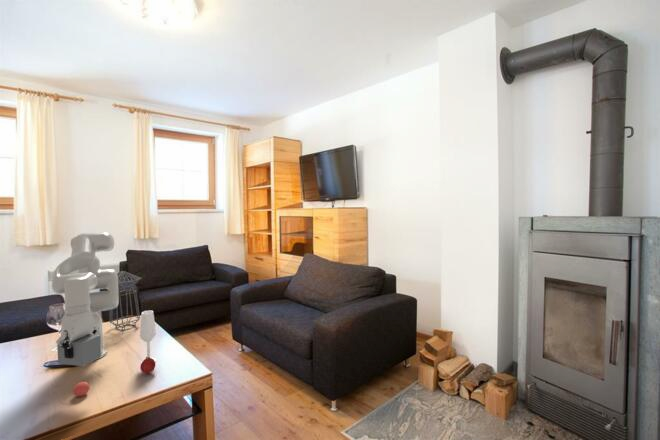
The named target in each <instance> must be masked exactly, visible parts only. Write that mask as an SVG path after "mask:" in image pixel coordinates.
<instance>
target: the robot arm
mask: <svg viewBox="0 0 660 440" xmlns="http://www.w3.org/2000/svg"><path fill="white" fill-rule="evenodd" d="M70 247H71V254H70V256H69V257H67V258H66V259H64V260H63V261H61V263H59V264H58V265H57V266H56V268H55V269H54V273H53V276H52V280H51V281H52V283H51V289H52V291H53V292H54V293H55V294H59V295H61V294H64V308H65V311H64V312H65V313H64V314H63V316H62V319H61V329H60V336H59V337H58V339H56V340H55V343H56V345H57V344H58V345H59V346H60V347H62V348H64V355H65V358H70V359H71V358H73V348H71V347H72V342H74V341H75V340H77V339H79V338H82V337H84V336H86V335H91V334H92V335H100V346H101V357H99V358H97V359H95V360H94V361H96V360H98V359H101V358H103V357H104V356H106V355H107V353H108V350H107V349H106V348H104V338H103V335H104V334H103V318H102V317H101V316H100V315H99V314H98V313H97V312H105V311H110V310H111V311H112V309H113V310H114V309H117V306H119V303H120V298H119V285H118V283H119V281H118V280H119V279H118V275H117V271H116V270H115V269H111V268H110V269H109V268H108V269H101V261H100V259H99V257H98V256H96V253H99V252H111V251H112V250H113V249H114V247H115V239H114V237H113V235H112V234H111V233H109V232H85V233H80V234H77V235H76V236H73V238H71V240H70ZM75 271H78V273H77V272H76V273H73V272H75ZM105 289H106V290H105ZM93 290H104V291H93ZM90 291H93V292H90ZM63 340H65V342H63ZM69 341H70V342H69ZM67 342H69V344H68V343H67Z"/></svg>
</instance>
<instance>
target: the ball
mask: <svg viewBox="0 0 660 440" xmlns="http://www.w3.org/2000/svg"><path fill="white" fill-rule="evenodd" d="M89 390H90V384H89V382H86V381H81V382H78V383H77V384H76V385H74V388H73V390H72V391H73V395H74V396H76V397H82V396H85V395H86V394H88V392H89Z"/></svg>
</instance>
